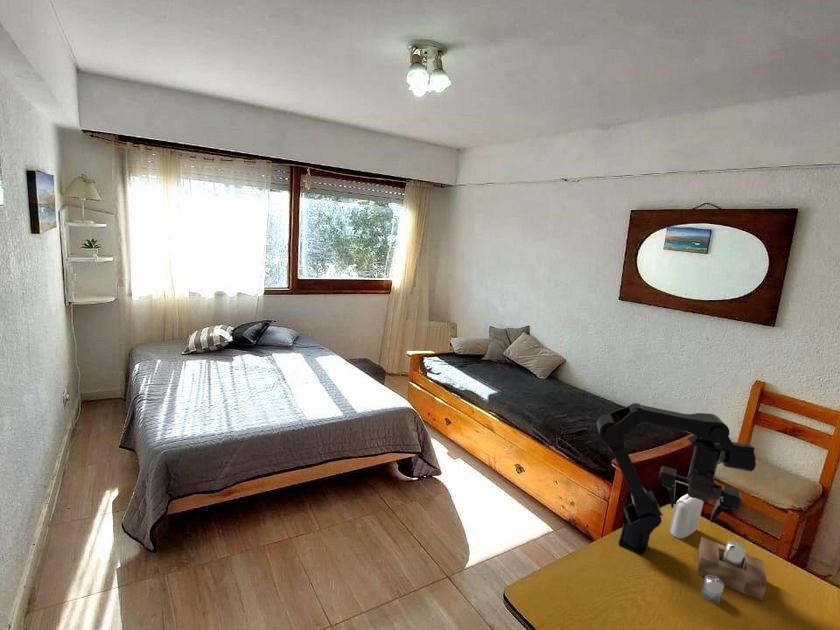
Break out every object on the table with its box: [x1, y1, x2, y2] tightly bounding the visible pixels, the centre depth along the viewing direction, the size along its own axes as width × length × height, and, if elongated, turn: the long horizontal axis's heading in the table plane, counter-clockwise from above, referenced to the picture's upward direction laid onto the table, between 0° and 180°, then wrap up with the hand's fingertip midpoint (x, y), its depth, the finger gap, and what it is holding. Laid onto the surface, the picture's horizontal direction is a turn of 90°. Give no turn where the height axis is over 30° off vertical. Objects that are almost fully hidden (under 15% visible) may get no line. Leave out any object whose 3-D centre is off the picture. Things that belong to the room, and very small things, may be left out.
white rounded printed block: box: [669, 493, 704, 539], centre depth 134 cm, size 10×4×12 cm, turn 123°
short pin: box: [700, 575, 725, 604], centre depth 111 cm, size 4×4×4 cm
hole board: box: [696, 536, 768, 602], centre depth 119 cm, size 14×10×5 cm
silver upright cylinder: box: [722, 540, 747, 568], centre depth 118 cm, size 4×4×9 cm
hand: (691, 514), depth 122 cm, fingers open, 9 cm apart
